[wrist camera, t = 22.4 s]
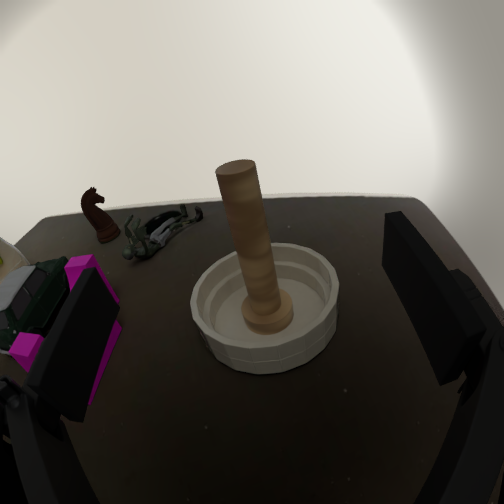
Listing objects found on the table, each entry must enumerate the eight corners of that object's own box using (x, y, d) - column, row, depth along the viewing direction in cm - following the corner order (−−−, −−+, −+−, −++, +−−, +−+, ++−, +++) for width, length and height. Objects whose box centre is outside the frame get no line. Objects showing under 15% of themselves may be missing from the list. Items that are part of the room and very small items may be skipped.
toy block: (90, 405, 23) (43, 360, 19) (51, 394, 24) (8, 352, 20) (135, 300, 35) (109, 252, 31) (98, 301, 36) (71, 257, 32)
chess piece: (124, 230, 52) (104, 182, 46) (105, 246, 49) (82, 197, 43) (111, 228, 54) (92, 183, 48) (93, 243, 51) (71, 197, 45)
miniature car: (83, 275, 42) (60, 233, 38) (35, 365, 28) (-4, 321, 23) (48, 280, 43) (26, 243, 39) (1, 360, 29) (-32, 321, 24)
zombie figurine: (194, 182, 45) (120, 236, 36) (205, 219, 49) (140, 276, 40) (170, 180, 48) (101, 230, 38) (182, 215, 52) (119, 267, 42)
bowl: (304, 261, 35) (300, 229, 33) (363, 341, 24) (367, 307, 22) (196, 298, 33) (183, 268, 31) (220, 397, 23) (204, 370, 20)
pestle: (283, 292, 31) (257, 150, 22) (301, 324, 27) (280, 166, 18) (239, 307, 30) (197, 167, 22) (252, 342, 26) (206, 187, 18)
